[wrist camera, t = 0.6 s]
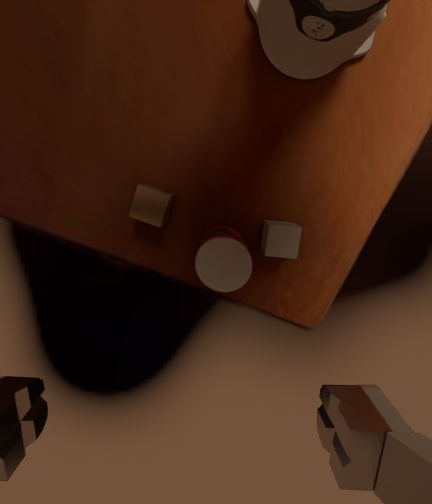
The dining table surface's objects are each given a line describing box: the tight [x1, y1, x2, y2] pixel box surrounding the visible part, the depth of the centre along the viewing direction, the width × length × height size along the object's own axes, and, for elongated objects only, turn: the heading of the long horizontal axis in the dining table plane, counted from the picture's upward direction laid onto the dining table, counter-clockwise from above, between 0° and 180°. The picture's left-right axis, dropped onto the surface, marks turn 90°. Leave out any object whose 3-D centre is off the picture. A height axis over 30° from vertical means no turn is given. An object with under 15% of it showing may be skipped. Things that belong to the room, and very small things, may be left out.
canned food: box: [195, 226, 252, 292], centre depth 43 cm, size 8×8×11 cm
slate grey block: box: [260, 220, 302, 259], centre depth 46 cm, size 5×5×5 cm
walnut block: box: [129, 184, 175, 227], centre depth 44 cm, size 5×5×5 cm
